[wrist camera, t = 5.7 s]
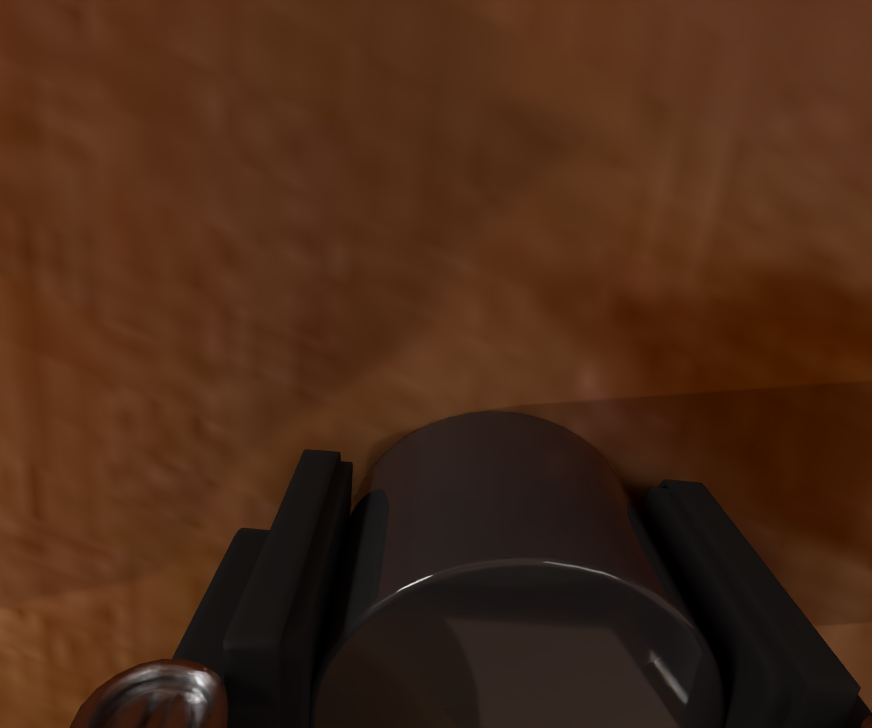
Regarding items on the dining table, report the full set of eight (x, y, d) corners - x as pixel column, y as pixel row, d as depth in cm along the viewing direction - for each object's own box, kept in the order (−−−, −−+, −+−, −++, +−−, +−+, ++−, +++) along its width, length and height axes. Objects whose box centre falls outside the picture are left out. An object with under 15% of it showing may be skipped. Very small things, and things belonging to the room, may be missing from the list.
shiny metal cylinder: (342, 637, 11) (301, 861, 8) (356, 396, 9) (310, 541, 6) (601, 657, 11) (675, 885, 8) (657, 423, 9) (781, 580, 6)
